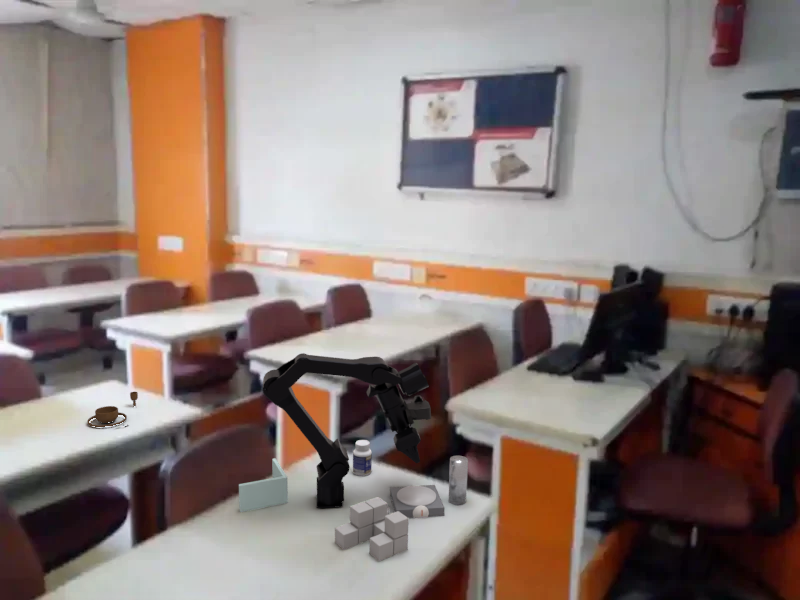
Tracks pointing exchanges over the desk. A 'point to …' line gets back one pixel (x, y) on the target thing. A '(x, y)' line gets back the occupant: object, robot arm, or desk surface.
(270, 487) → the l-shaped corner panel
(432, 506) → the scale
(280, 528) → the desk surface
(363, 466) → the pill bottle
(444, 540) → the desk surface
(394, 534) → the puzzle cube
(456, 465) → the cylinder
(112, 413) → the place setting
